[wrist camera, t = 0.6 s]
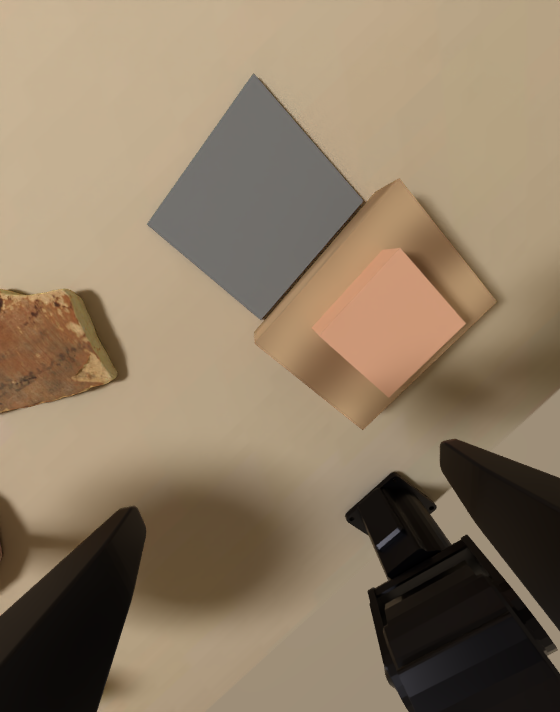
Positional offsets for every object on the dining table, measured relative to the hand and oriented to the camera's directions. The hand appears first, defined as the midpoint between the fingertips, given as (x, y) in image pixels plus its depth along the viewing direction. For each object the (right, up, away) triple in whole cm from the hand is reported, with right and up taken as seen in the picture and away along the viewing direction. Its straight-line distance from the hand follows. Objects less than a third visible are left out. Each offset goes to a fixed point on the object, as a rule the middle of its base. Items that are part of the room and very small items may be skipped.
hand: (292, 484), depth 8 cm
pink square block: (+6, +6, +9) cm, 12 cm away
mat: (-2, +13, +9) cm, 16 cm away
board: (+5, +7, +12) cm, 15 cm away
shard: (-16, +3, +12) cm, 20 cm away
